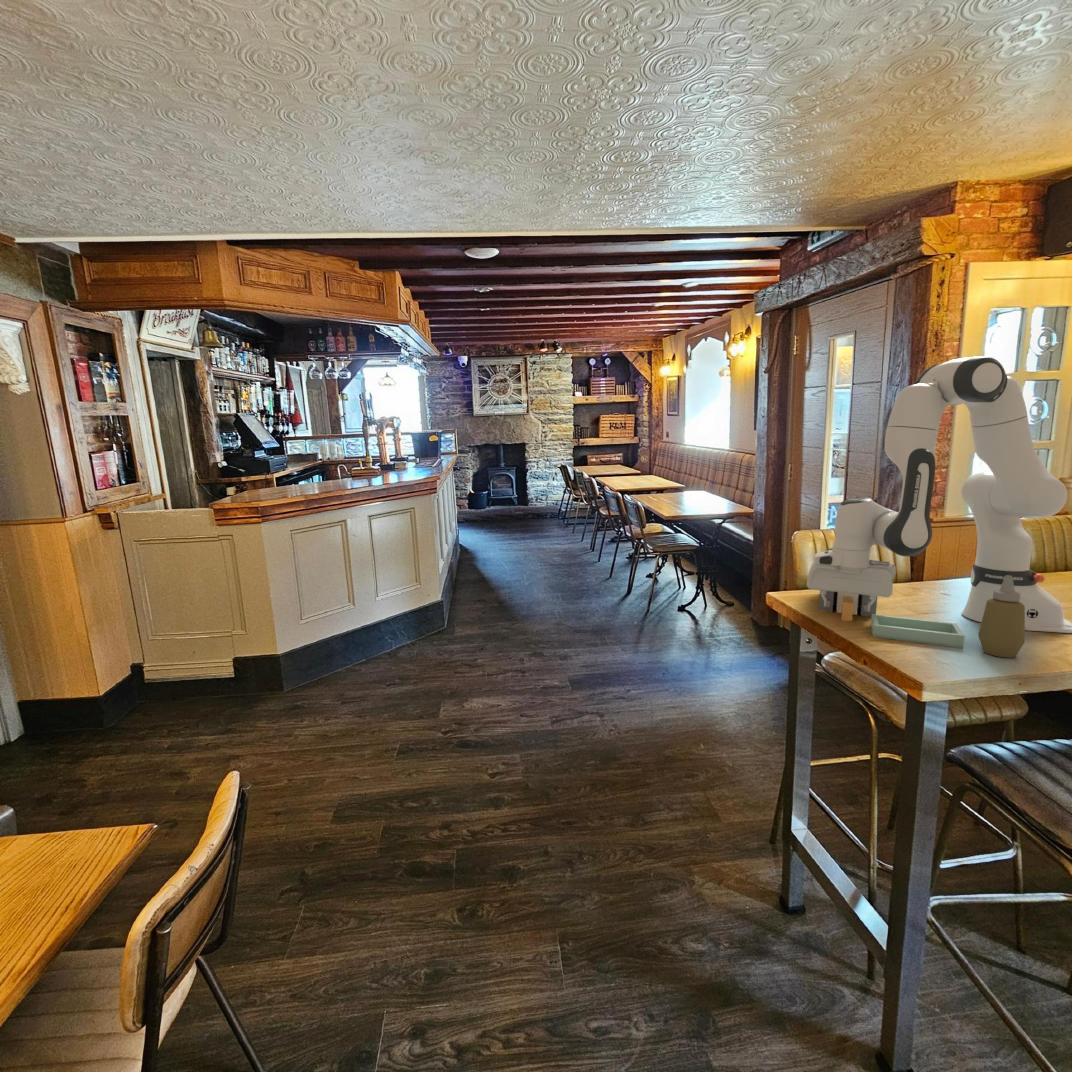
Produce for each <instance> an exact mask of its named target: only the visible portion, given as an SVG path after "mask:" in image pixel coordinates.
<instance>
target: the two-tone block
mask: <svg viewBox="0 0 1072 1072" xmlns="http://www.w3.org/2000/svg"><path fill="white" fill-rule="evenodd" d="M857 606H858V594H851V593H842V592H838V594H837V605H836V613H839V614H841V621H845V622H846V621H847V622H852V621H853V615H858V607H857Z"/></svg>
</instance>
